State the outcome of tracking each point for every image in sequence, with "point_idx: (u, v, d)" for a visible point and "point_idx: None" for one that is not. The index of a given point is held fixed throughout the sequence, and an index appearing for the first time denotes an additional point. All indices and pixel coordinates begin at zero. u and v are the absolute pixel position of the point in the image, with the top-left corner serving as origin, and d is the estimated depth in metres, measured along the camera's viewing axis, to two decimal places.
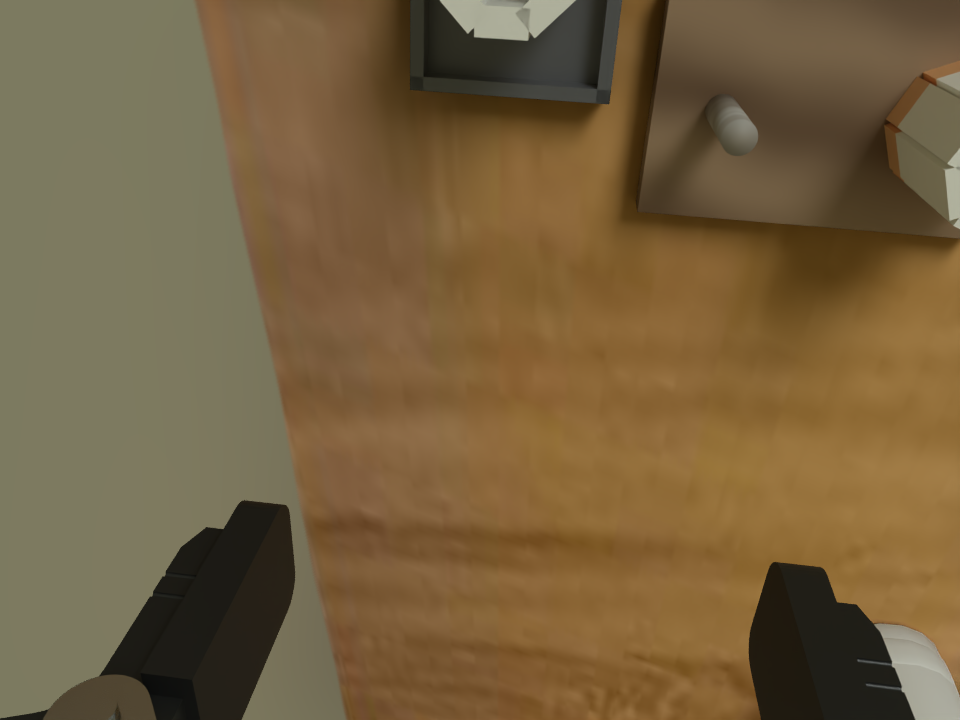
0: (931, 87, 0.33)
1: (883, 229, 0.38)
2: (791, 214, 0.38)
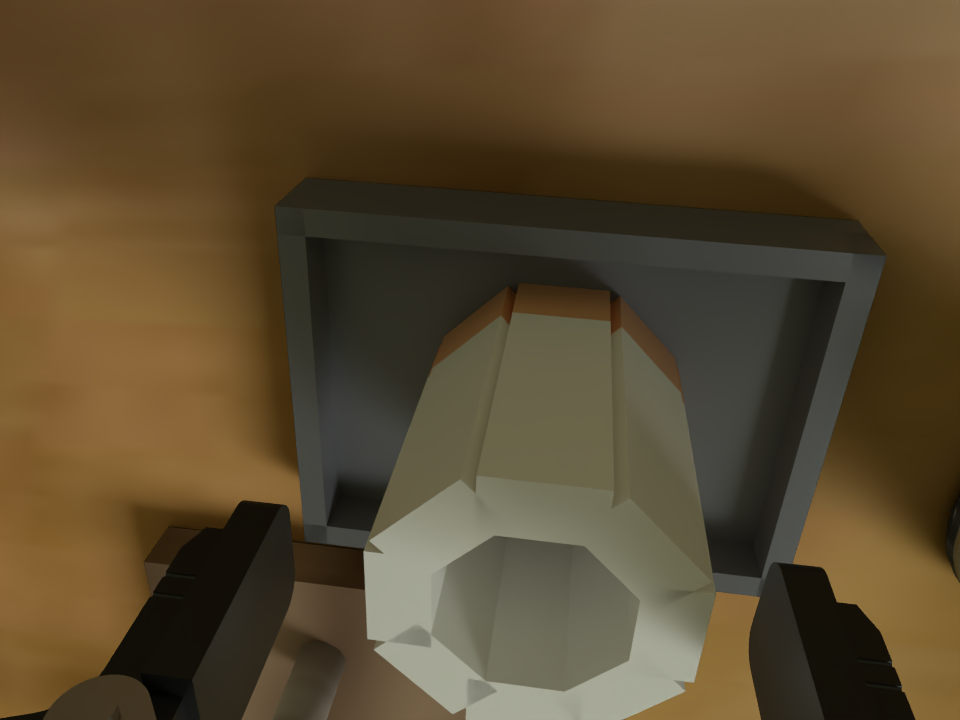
0: None
1: None
2: None
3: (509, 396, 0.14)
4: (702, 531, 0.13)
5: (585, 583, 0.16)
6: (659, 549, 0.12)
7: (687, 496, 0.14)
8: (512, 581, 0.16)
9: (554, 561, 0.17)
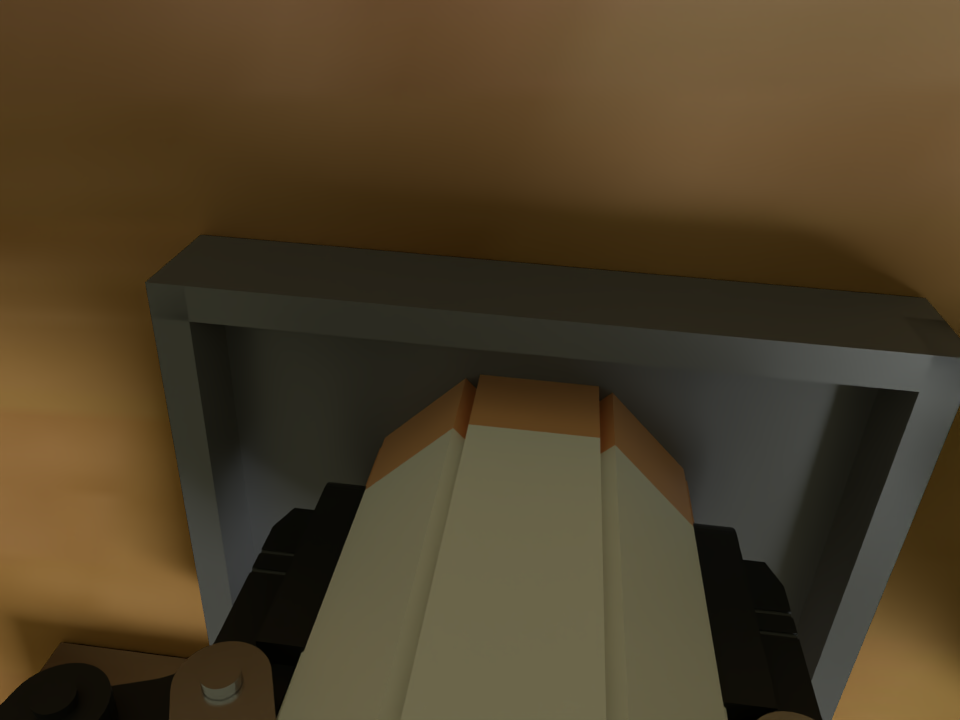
0: None
1: None
2: None
3: (455, 580, 0.09)
4: None
5: None
6: None
7: None
8: None
9: None
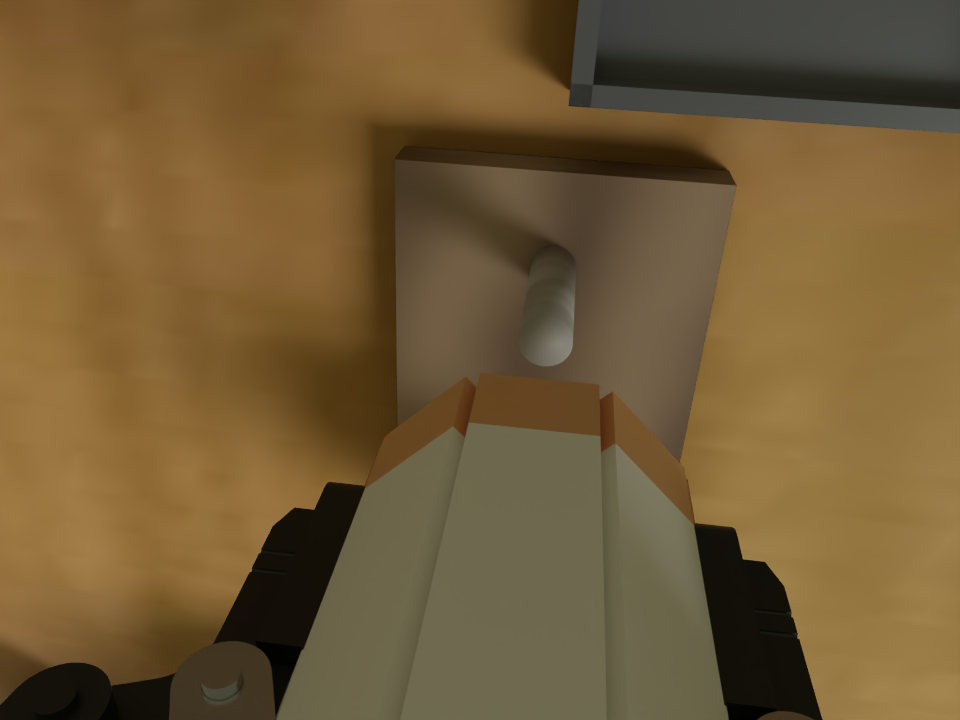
0: None
1: None
2: (410, 367, 0.27)
3: (454, 579, 0.09)
4: None
5: None
6: None
7: None
8: None
9: None
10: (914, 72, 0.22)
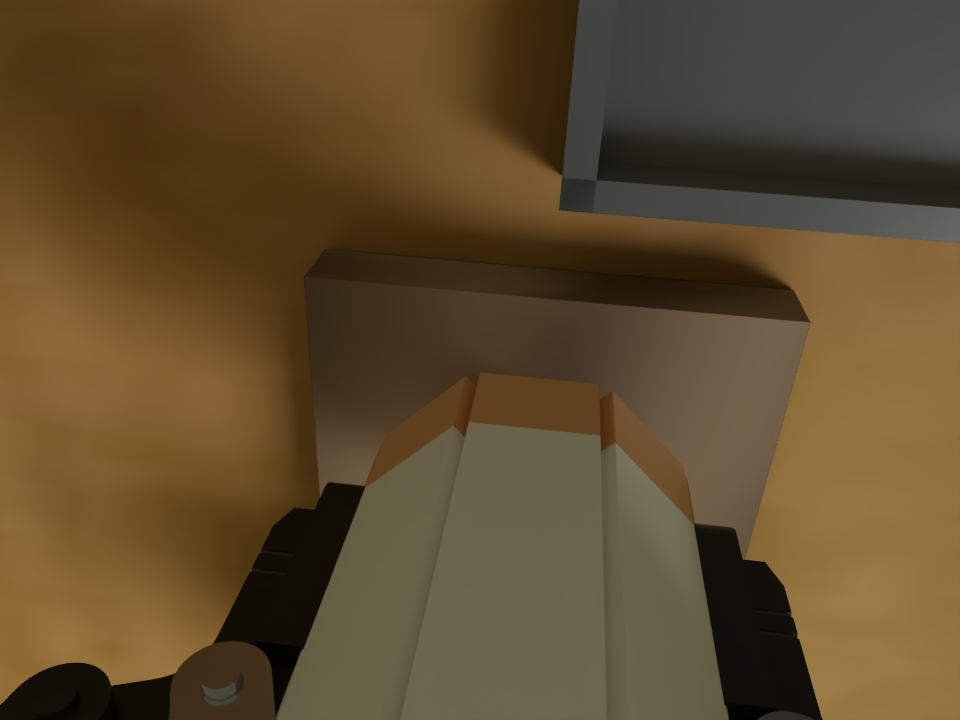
0: None
1: None
2: None
3: (455, 578, 0.09)
4: None
5: None
6: None
7: None
8: None
9: None
10: None
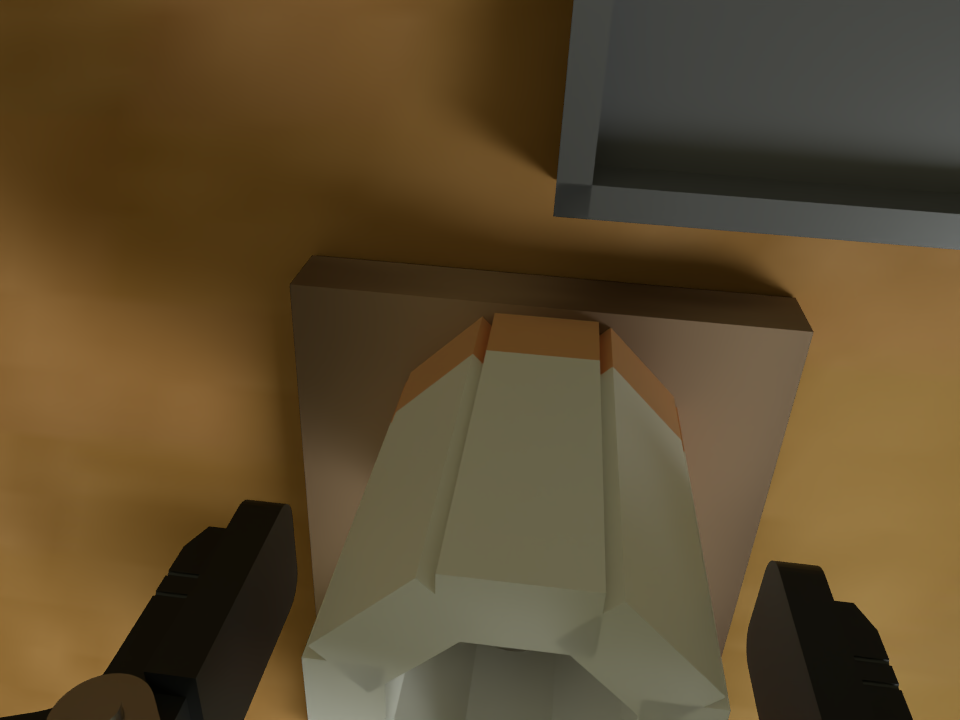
0: None
1: None
2: (331, 557, 0.19)
3: (479, 461, 0.11)
4: (711, 625, 0.11)
5: (572, 668, 0.13)
6: (661, 660, 0.10)
7: (693, 580, 0.11)
8: (487, 665, 0.14)
9: None
10: None
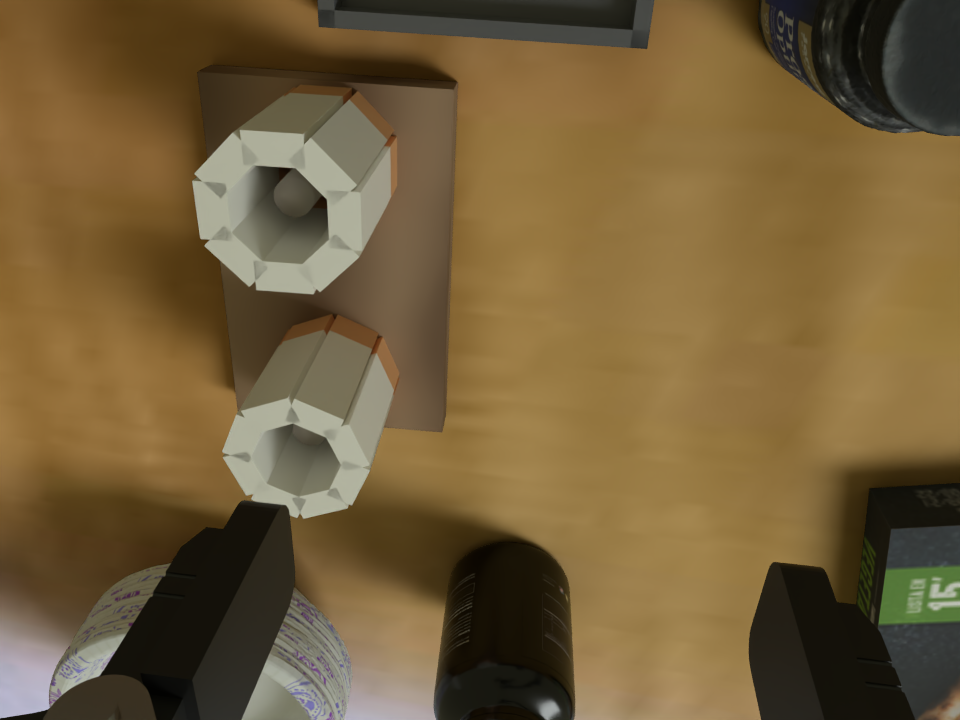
0: (368, 352, 0.35)
1: (231, 331, 0.37)
2: None
3: (269, 113, 0.27)
4: (362, 173, 0.27)
5: (326, 232, 0.29)
6: (329, 167, 0.25)
7: (359, 161, 0.27)
8: (289, 235, 0.29)
9: (315, 230, 0.30)
10: (572, 2, 0.30)
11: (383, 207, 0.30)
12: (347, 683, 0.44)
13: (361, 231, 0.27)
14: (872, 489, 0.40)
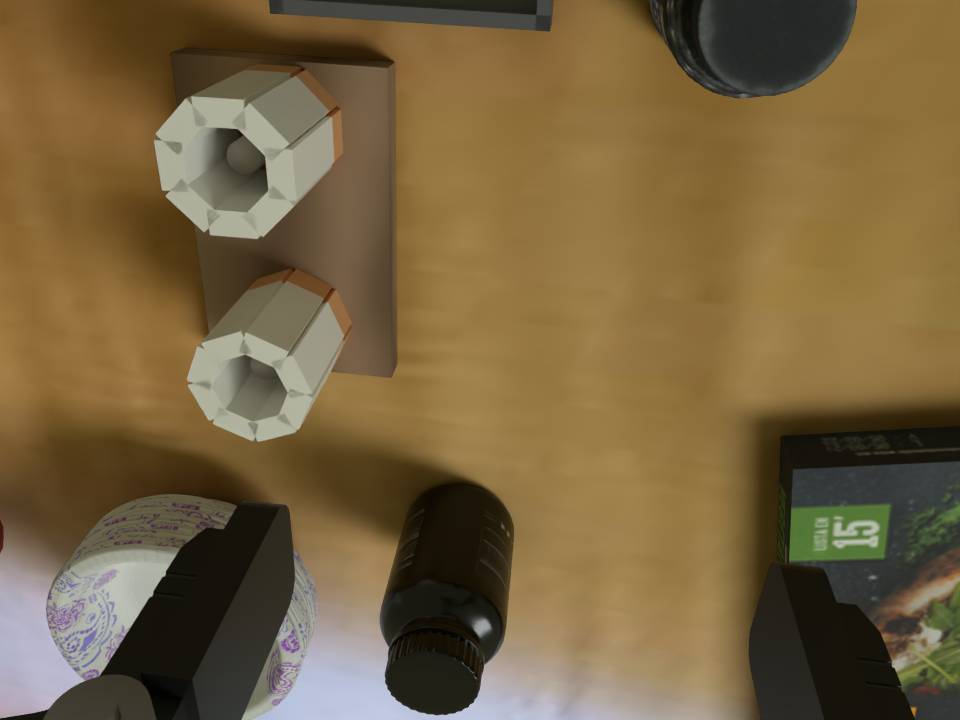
0: (319, 300, 0.40)
1: (204, 284, 0.42)
2: None
3: (221, 84, 0.32)
4: (297, 135, 0.32)
5: None
6: (265, 128, 0.30)
7: (296, 125, 0.32)
8: (242, 191, 0.34)
9: (265, 187, 0.35)
10: None
11: (324, 168, 0.35)
12: (312, 609, 0.49)
13: (295, 183, 0.31)
14: (783, 437, 0.44)
